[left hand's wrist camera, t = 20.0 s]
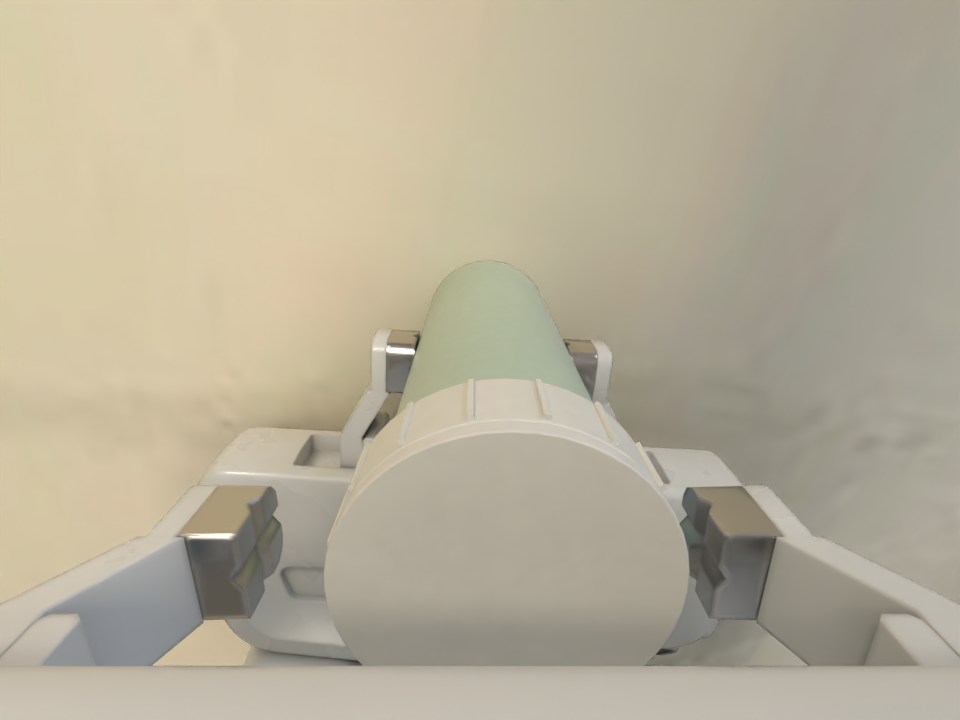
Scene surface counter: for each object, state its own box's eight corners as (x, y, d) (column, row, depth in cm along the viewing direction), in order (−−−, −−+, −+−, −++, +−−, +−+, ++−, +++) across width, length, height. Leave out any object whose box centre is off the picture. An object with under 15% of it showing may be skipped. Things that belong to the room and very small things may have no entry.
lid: (426, 661, 12) (416, 754, 10) (293, 443, 10) (250, 509, 8) (687, 580, 11) (729, 664, 9) (599, 325, 9) (631, 368, 7)
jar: (502, 236, 22) (547, 373, 8) (567, 331, 24) (704, 588, 10) (406, 305, 23) (295, 536, 9) (474, 392, 25) (472, 707, 11)
